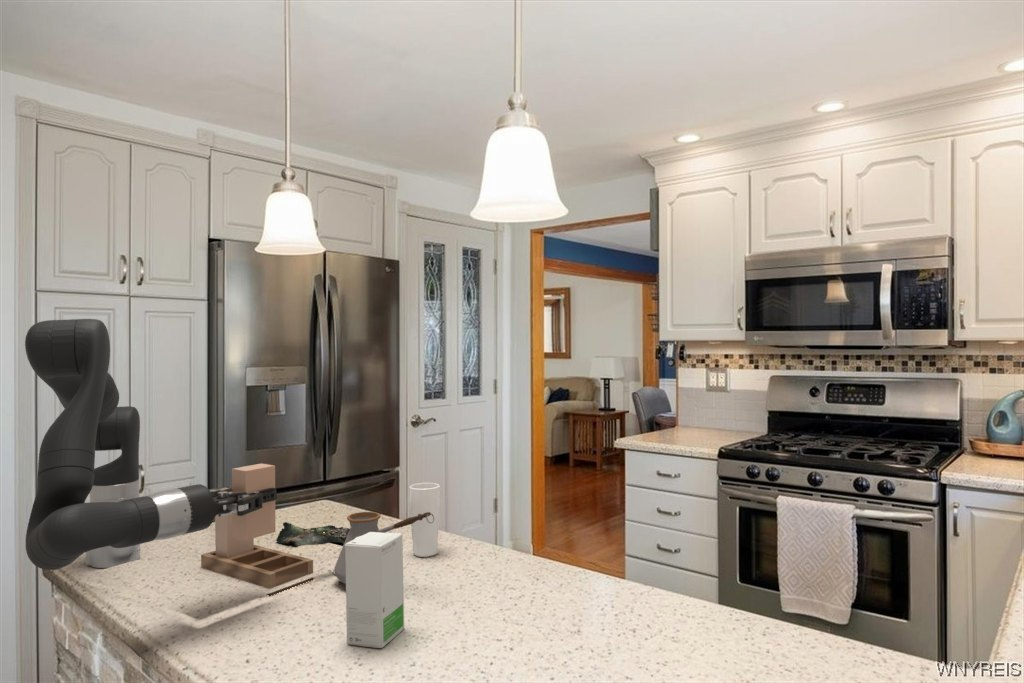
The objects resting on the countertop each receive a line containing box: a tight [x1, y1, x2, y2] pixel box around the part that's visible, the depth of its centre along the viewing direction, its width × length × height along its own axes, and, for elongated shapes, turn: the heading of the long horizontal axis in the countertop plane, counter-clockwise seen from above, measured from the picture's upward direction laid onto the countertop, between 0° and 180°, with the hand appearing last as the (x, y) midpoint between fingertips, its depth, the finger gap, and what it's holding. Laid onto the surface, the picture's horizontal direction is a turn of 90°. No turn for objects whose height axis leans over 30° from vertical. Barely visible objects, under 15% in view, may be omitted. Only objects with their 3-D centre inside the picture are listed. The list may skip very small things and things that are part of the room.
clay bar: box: [231, 462, 276, 540], centre depth 121 cm, size 4×6×12 cm, turn 146°
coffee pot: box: [333, 511, 434, 586], centre depth 129 cm, size 21×12×15 cm, turn 65°
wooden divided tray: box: [200, 544, 314, 597], centre depth 134 cm, size 22×10×4 cm, turn 56°
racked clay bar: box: [214, 513, 255, 559], centre depth 138 cm, size 4×6×12 cm, turn 146°
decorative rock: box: [275, 521, 350, 548], centre depth 158 cm, size 19×6×15 cm
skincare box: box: [345, 532, 405, 649], centre depth 107 cm, size 8×7×16 cm
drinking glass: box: [408, 482, 441, 558], centre depth 148 cm, size 7×7×15 cm
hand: (267, 491), depth 123 cm, fingers closed on clay bar, 4 cm apart
